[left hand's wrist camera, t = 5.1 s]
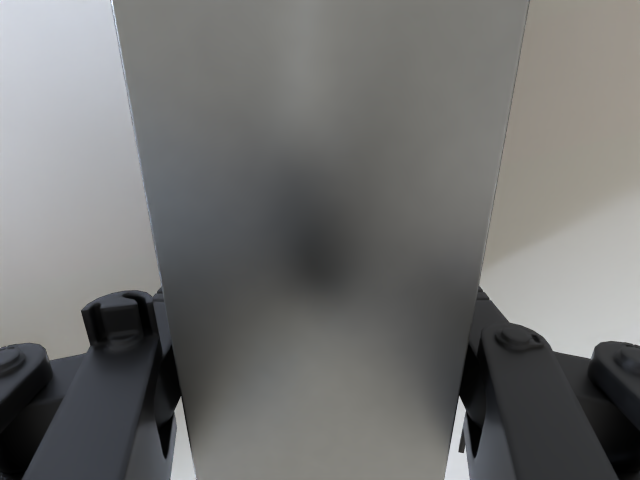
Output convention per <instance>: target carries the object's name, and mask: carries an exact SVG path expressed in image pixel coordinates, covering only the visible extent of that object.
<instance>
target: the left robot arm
mask: <svg viewBox="0 0 640 480" xmlns="http://www.w3.org/2000/svg"><path fill="white" fill-rule="evenodd" d="M81 313H82V317H83V320H84V324H85V327H86V331H87V335H88V338H89V342H90V347H89V349H88V351H87V353H84V354H80V355H76V356H70V357H65V358H60V359H55V360H50V361H49V358H48V355H47V352H46V349H45V348H44V347H42V346H41V345H40V344H33V343H24V344H14V345H9V346H7V347H6V346H5V347H2V348H0V480H170V477H171V469H172V461H173V454H174V446H175V438H176V430H177V425H176V418H175V413H174V410H175V408H176V406H177V403H178V401H179V399H180V397H181V392H180V386H179V381H178V375H177V370H176V364H175V358H174V353H173V347H172V342H171V336H170V330H169V325H168V319H167V314H166V308H165V302H164V297H163V291H162V286H161V288H160V289H159V290H158V291H157V294H155V295H154V296H153V297H152V296H151V295H149V294H148V293H147V292H143V291H138V290H132V291H121V292H115V293H111V294H108V295H105V296H102V297H100V298H97V299H96V300H94V301H92V302H90V303H89V304H87V305H86V306H85V307H84V308H83V309H82V310H81ZM459 396H460V398H461V400H462V402H463V404H464V406H465V409H466V413H465V418H464V424H463V429H462V434H461V439H460V445H459V452H460V453H464V449H465V445H466V453H467V460H468V468H469V476H470V480H640V346H638V345H633V344H630V343H626V342H615V341H608V342H601V343H599V344H598V345H597V346H596V347H595V348H594V351H593V354H592V357H591V359H588V358H583V357H578V356H573V355H568V354H563V353H558V352H554V351H552V349H551V347H550V345H549V344H548V342H547V341H546V340H545V339H544V338H543V337H542V336H541V335H539V334H538V333H536V332H535V331H533V330H531V329H528V328H526V327H524V326H521V325H517V324H513V323H509V322H508V320H507V319H506V318H505V317H504V316H503V314H502V313H501V312H500V311H499V310H498V308H497V307H496V306H495V305H494V303H493V302H492V301H491V300H489V297H488V296H487V295H486V294H485V292H483V290H482V289H481V288H480V286H479V287H478V292H477V298H476V304H475V309H474V315H473V320H472V326H471V331H470V337H469V343H468V348H467V354H466V359H465V365H464V371H463V376H462V382H461V387H460V393H459Z"/></svg>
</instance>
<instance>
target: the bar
mask: <svg viewBox="0 0 640 480" xmlns="http://www.w3.org/2000/svg"><path fill="white" fill-rule="evenodd" d="M529 2H530V0H111V6H112V11H113V17H114V22H115V28H116V34H117V39H118V45H119V50H120V56H121V62H122V67H123V73H124V78H125V84H126V90H127V95H128V101H129V106H130V112H131V118H132V123H133V129H134V134H135V140H136V146H137V151H138V157H139V162H140V168H141V174H142V179H143V185H144V190H145V196H146V202H147V207H148V213H149V218H150V224H151V230H152V235H153V241H154V246H155V252H156V258H157V263H158V269H159V274H160V280H161V286H162V291H163V297H164V302H165V308H166V314H167V319H168V325H169V330H170V336H171V342H172V347H173V353H174V358H175V364H176V370H177V375H178V381H179V386H180V392H181V398H182V403H183V409H184V414H185V420H186V426H187V431H188V437H189V442H190V448H191V454H192V459H193V465H194V470H195V476H196V480H444V477H445V471H446V466H447V460H448V454H449V449H450V443H451V438H452V432H453V426H454V421H455V415H456V410H457V404H458V398H459V393H460V387H461V382H462V376H463V371H464V365H465V359H466V354H467V348H468V343H469V337H470V331H471V326H472V320H473V315H474V309H475V304H476V298H477V292H478V287H479V281H480V276H481V270H482V264H483V259H484V253H485V248H486V242H487V237H488V231H489V225H490V220H491V214H492V209H493V203H494V197H495V192H496V186H497V181H498V175H499V169H500V164H501V158H502V153H503V147H504V142H505V136H506V130H507V125H508V119H509V114H510V108H511V102H512V97H513V91H514V86H515V80H516V75H517V69H518V63H519V58H520V52H521V47H522V41H523V35H524V30H525V24H526V19H527V13H528V7H529Z"/></svg>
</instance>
